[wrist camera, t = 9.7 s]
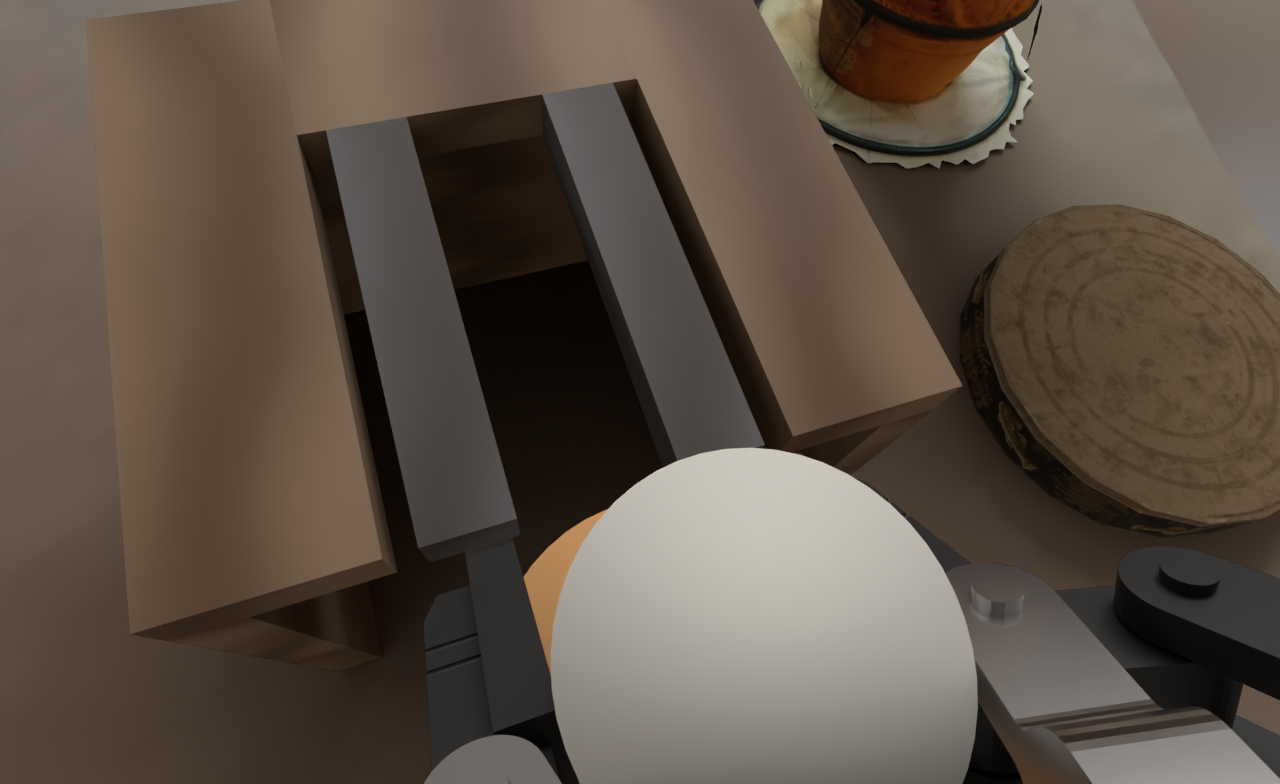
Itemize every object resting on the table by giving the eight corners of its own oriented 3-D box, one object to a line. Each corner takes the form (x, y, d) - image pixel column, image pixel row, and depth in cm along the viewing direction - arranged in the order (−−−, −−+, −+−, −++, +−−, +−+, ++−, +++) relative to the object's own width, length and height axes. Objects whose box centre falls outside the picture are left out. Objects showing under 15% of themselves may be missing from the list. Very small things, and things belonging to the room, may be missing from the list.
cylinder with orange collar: (643, 861, 20) (903, 1293, 5) (474, 718, 21) (279, 730, 6) (759, 671, 22) (1165, 588, 7) (602, 550, 23) (686, 265, 8)
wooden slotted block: (339, 671, 26) (129, 634, 13) (276, 299, 31) (86, 20, 19) (789, 524, 30) (962, 385, 17) (661, 217, 35) (720, -60, 23)
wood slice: (1053, 580, 30) (1102, 567, 28) (902, 268, 36) (930, 232, 34) (1340, 492, 34) (1409, 473, 31) (1159, 218, 39) (1204, 181, 37)
